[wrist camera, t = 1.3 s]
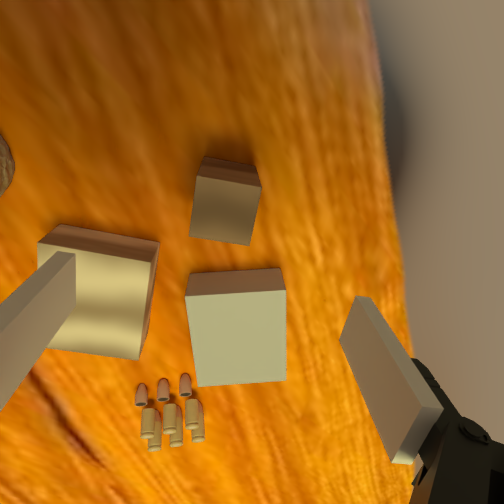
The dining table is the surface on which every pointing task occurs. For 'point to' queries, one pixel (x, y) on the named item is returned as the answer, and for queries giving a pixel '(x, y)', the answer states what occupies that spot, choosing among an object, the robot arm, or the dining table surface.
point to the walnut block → (225, 201)
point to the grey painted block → (237, 326)
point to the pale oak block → (105, 291)
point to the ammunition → (170, 416)
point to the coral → (5, 166)
